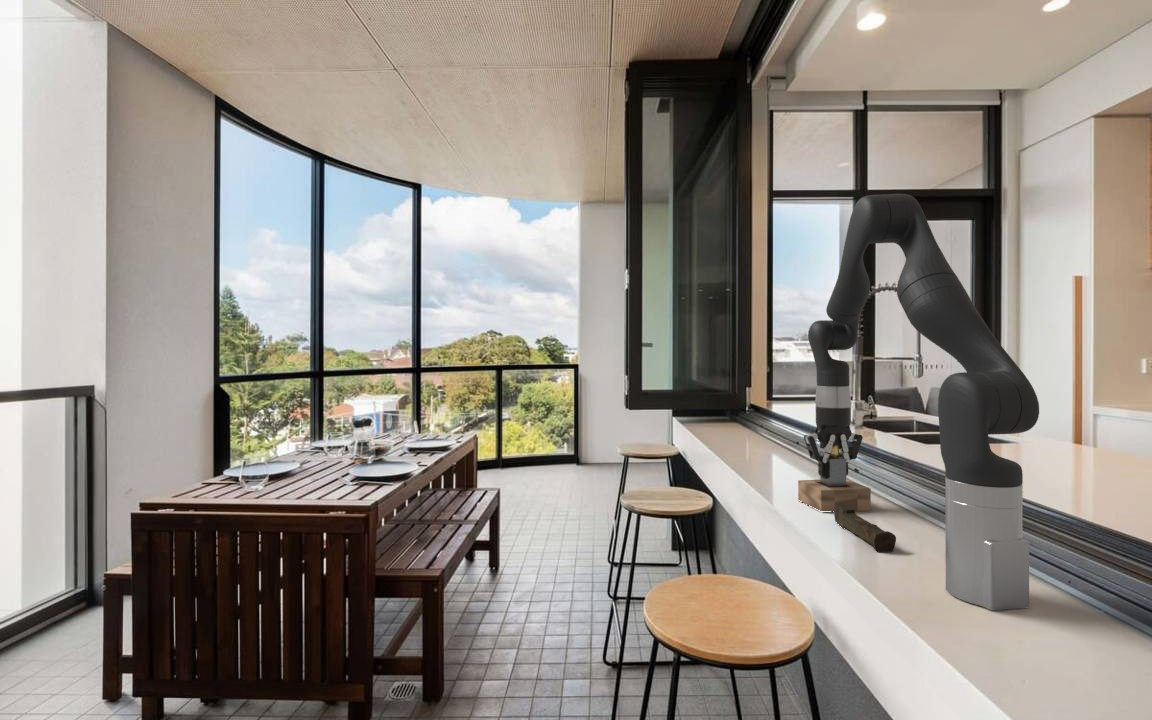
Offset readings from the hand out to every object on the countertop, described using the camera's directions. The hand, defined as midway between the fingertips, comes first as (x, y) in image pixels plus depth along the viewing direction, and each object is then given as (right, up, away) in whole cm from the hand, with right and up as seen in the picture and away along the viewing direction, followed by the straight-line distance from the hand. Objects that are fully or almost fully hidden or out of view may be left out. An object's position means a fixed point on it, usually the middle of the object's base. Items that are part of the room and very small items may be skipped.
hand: (833, 477), depth 130 cm
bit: (0, -4, 0) cm, 4 cm away
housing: (0, -7, 0) cm, 7 cm away
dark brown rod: (-5, -8, -21) cm, 23 cm away
